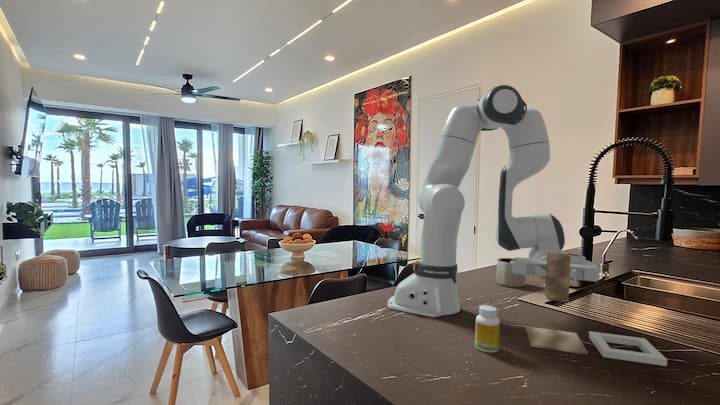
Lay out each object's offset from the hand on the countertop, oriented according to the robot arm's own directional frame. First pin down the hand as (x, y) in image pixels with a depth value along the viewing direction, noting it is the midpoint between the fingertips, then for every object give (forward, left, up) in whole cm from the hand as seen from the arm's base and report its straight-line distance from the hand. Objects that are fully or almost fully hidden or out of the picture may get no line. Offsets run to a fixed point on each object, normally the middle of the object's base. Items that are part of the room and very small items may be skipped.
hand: (558, 275), depth 91 cm
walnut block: (0, +1, -6) cm, 6 cm away
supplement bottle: (-16, -10, -17) cm, 25 cm away
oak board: (0, +1, -17) cm, 17 cm away
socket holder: (+15, +1, -17) cm, 22 cm away
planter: (-7, +56, -17) cm, 59 cm away
